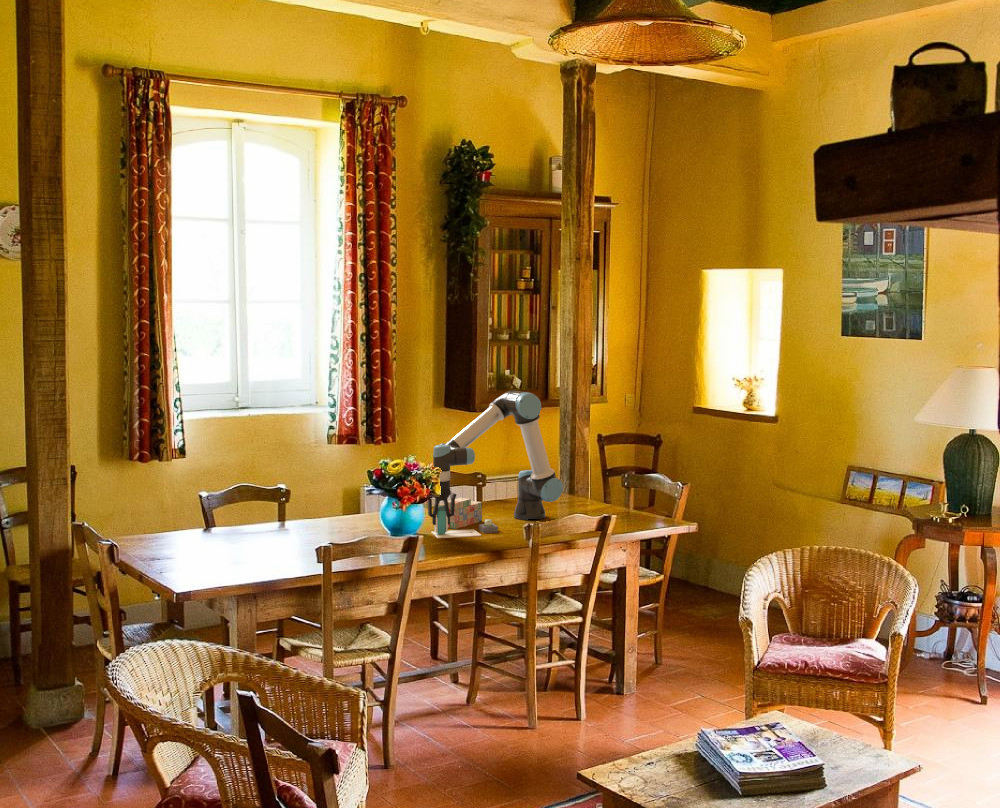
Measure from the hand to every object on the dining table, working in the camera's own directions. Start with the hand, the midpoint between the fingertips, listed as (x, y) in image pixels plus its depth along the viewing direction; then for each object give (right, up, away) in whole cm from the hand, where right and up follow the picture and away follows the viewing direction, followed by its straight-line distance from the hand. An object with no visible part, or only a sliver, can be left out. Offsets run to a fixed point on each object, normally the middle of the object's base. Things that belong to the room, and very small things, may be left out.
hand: (441, 531), depth 494 cm
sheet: (+7, -1, +2) cm, 7 cm away
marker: (0, -1, 0) cm, 1 cm away
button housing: (+21, -1, +10) cm, 23 cm away
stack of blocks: (+9, 0, +23) cm, 25 cm away
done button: (+21, +1, +10) cm, 23 cm away
